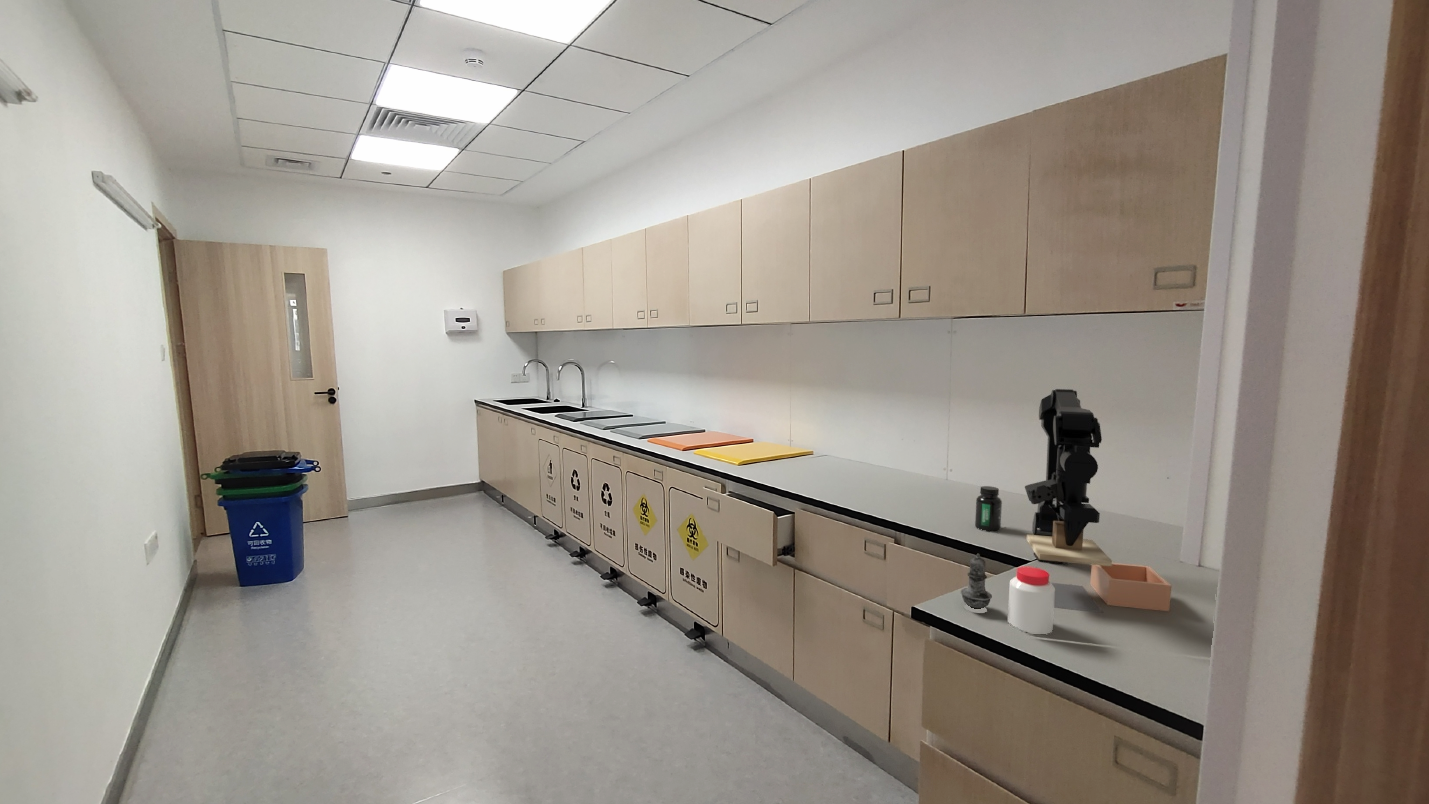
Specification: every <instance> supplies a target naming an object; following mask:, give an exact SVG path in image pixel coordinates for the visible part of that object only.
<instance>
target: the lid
mask: <svg viewBox="0 0 1429 804" xmlns="http://www.w3.org/2000/svg"><path fill="white" fill-rule="evenodd" d="M1084 529H1085V528H1084ZM1084 529H1083V531H1082V532H1081V534H1080V535H1079V537H1078V538H1077V540H1076V541H1075V543H1074V544H1073V546H1068V545H1066V539H1065V531H1064V522H1063V521H1053V535H1052V537H1051V536H1039V535H1033V534H1026V541H1027V542H1028V544H1029V546H1030V547H1031V549H1032V550H1033V553H1034V552H1035V553H1036V555H1037V557H1038V558H1039V560H1049V561H1060V562H1068V563H1070V564H1071V563H1073V564H1074V563H1075V564H1082V565H1091V566H1092V565H1103V566H1112V563H1113V560H1112V559H1111V558H1110V557H1109V555H1108V554H1106V553H1105V551H1104V550H1103V549H1101V547H1100V546H1099V545H1098V544H1096V542H1095V541H1094V540H1092V539H1088V538H1087V539H1084Z"/></svg>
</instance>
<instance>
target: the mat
mask: <svg viewBox="0 0 1429 804" xmlns="http://www.w3.org/2000/svg"><path fill="white" fill-rule="evenodd" d="M1050 583H1051V584H1052V585H1053V586H1054V587H1055V602H1054V609H1064V610H1074V611H1083V612H1084V611H1085V612H1090V613H1091V612H1092V613H1093V612H1094V613H1101V614H1104V611H1103V610H1102V608H1100V606H1099V605H1098V603H1097V602H1096V601H1095V600H1094V598H1092V596H1091V595H1090V593H1089V592H1088V591H1087V589H1086V588H1085V587H1084V586H1083V585H1079V584H1077V585H1076V584H1067V583H1057V582H1056V583H1055V582H1050Z"/></svg>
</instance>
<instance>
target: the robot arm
mask: <svg viewBox="0 0 1429 804" xmlns="http://www.w3.org/2000/svg"><path fill="white" fill-rule="evenodd" d="M1081 406H1082V405H1081V400H1080V399H1079V398H1078V392H1077V390H1074V389H1070V388H1069V389H1068V388H1067V389H1065V388H1055V389H1052V390H1051V393H1050V394H1049V395H1047V396H1045V397H1044V398H1042V399H1041V400H1040V403H1039V408H1038V420H1040V421H1041V422H1040V424H1041V428H1042V430H1043V431H1044V433H1045V434H1046V436H1047V448H1046V449H1047V450H1046V470H1045V471H1046V473H1045V480H1042V481H1041V480H1040V481H1037V482H1034V483H1033V482H1032V483H1030V484H1027V485H1024V489H1025V493H1026V495H1027V498H1028V501H1030V503H1031V504H1032V505H1037V511H1035V512H1034V516H1033V520H1032V535H1039V536H1051V537H1052V535H1053V521H1063V522H1064V531H1065V539H1066V545H1068V546H1073V544H1074V543H1075V541H1076V540H1077V538H1078V537H1079V535H1080V534H1081V532H1082V531H1083V532H1084V530H1083V529H1085V528H1086V527H1087V525H1088V524H1089V523H1091V524H1093V523H1095V524H1099V523H1100V515H1101V513H1100V512H1099V511H1098V509H1096V508H1095V507H1094V506H1093V505H1091V504H1090V498H1089V497H1088V496H1087V489H1088V484H1090V485H1091V479H1093V478H1094V477H1095V475H1096V474H1097V473H1098V469H1099V464H1098V462H1097V460H1096V458H1095V457H1094V456H1093V455H1092V454H1091V448H1094V449H1095V448H1096V449H1098V448H1099V447H1100V444H1102V440H1103V439H1102V430H1101V424H1100V422H1099V419H1098V418H1097V417H1095V415H1094V413H1093V412H1092V411H1091V410H1090V409H1086V408H1082V407H1081ZM1033 556H1034V557H1035V559H1036V560H1037V562H1038V563H1045V564H1046V563H1047V564H1054V565H1057V564H1058V565H1069V562H1060V561H1049V560H1039V558H1038V557H1037V555H1036V553H1035V552H1034V551H1033Z"/></svg>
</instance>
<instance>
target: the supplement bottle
mask: <svg viewBox="0 0 1429 804" xmlns="http://www.w3.org/2000/svg"><path fill="white" fill-rule="evenodd" d="M999 496H1000V491H999V488H998V487H996V486H990V485H984V486H980V492H979V495H978V496H977V497H976V499H975V517H974V518H975V519H974V520H975V521H974V525H975V526H974V527H975V528H976V529H978V528H979V529H978V530H980V529H982V530H981V531H983V530H986V531H985V532H990V531H994V532H999V531H1000V530H1001V525H1002V509H1003V501H1002V499H1001V498H1000V497H999ZM998 530H999V531H998Z"/></svg>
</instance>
